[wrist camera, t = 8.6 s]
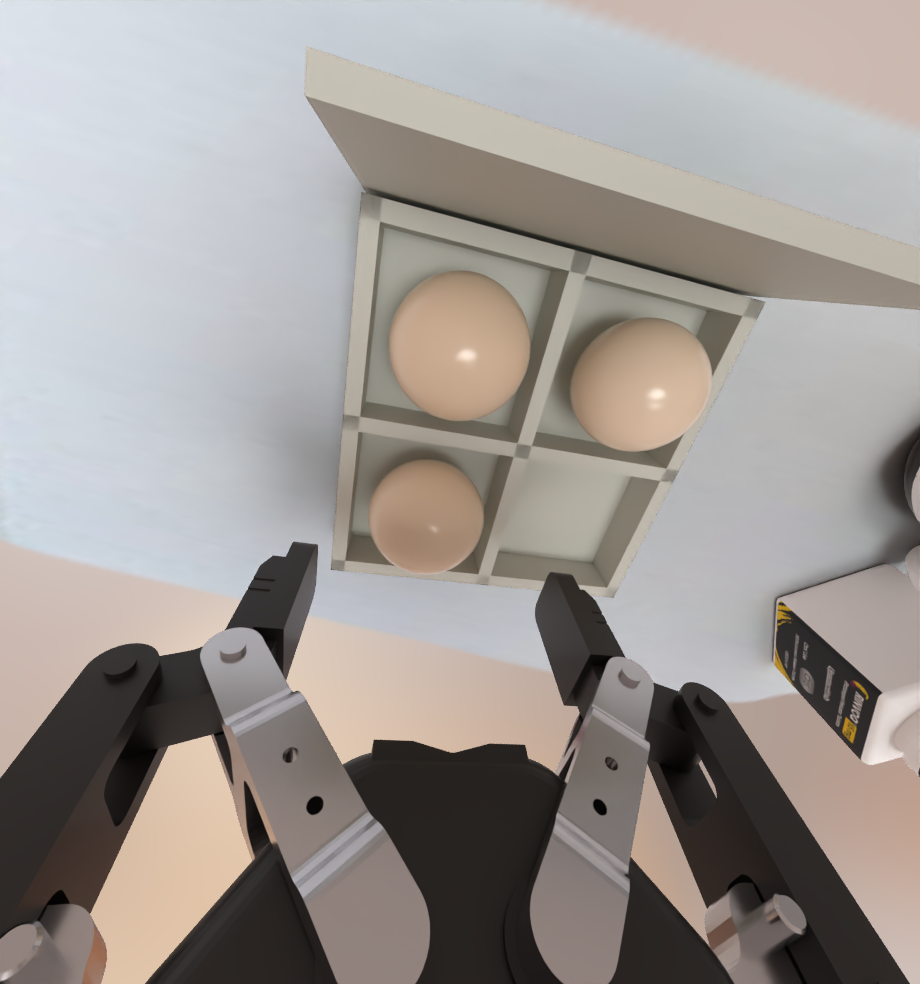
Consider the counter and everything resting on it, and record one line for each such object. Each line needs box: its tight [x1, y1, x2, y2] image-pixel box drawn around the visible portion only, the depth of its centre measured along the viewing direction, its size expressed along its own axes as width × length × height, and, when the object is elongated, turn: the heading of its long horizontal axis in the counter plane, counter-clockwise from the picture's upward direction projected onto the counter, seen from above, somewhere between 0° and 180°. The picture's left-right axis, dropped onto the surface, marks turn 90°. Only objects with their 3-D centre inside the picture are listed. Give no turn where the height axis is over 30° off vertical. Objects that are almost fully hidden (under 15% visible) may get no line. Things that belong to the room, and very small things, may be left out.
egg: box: [368, 459, 484, 575], centre depth 17 cm, size 5×5×5 cm
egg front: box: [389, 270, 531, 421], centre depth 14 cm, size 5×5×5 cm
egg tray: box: [305, 46, 920, 598], centre depth 14 cm, size 14×15×10 cm
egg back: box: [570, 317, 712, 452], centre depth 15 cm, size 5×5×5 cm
